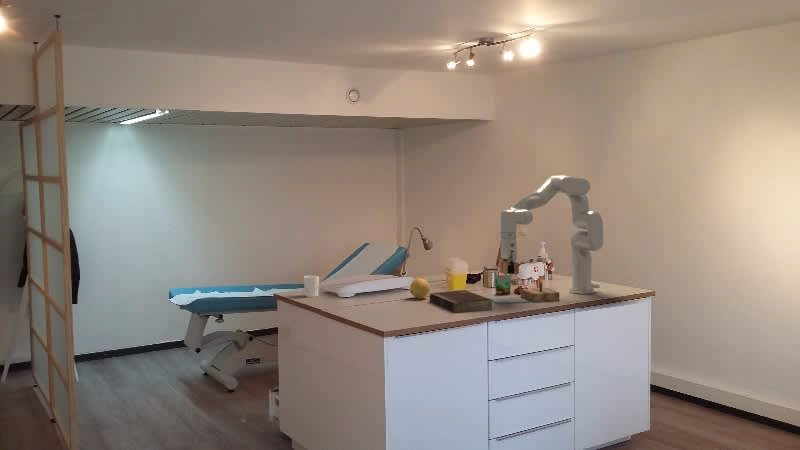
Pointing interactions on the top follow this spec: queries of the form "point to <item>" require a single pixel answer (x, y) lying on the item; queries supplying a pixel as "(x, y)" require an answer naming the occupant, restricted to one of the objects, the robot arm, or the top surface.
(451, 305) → the hardback book
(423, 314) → the top surface
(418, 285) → the stress ball
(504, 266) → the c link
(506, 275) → the food container
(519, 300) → the mat
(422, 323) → the top surface
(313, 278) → the white cup
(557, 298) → the stand
